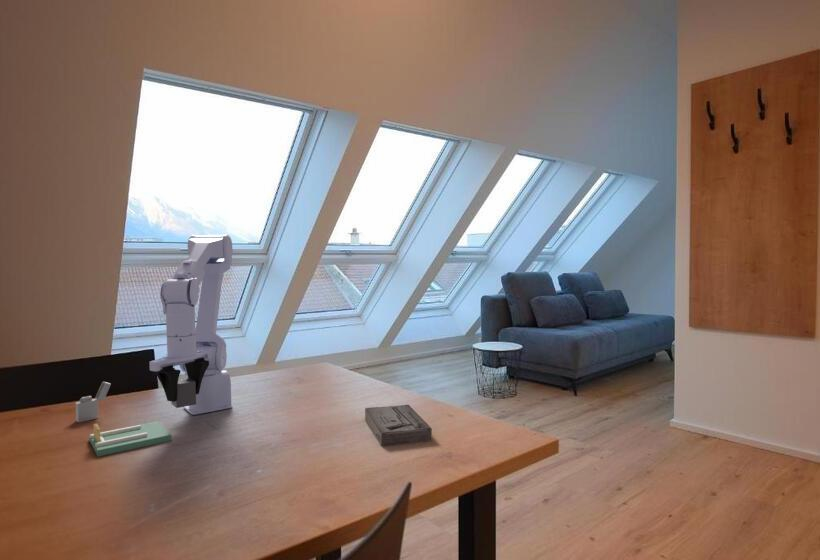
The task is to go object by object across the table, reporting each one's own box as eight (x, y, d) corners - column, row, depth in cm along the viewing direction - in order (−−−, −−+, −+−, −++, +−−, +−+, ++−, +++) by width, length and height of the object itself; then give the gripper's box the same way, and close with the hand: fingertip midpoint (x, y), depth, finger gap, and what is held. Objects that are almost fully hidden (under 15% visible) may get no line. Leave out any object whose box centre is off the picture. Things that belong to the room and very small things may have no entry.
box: (408, 416, 120) (408, 403, 120) (432, 442, 104) (432, 427, 104) (363, 421, 117) (363, 407, 117) (380, 448, 101) (380, 432, 101)
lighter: (78, 422, 117) (77, 387, 117) (75, 420, 118) (74, 386, 118) (112, 414, 123) (111, 381, 122) (109, 413, 124) (108, 380, 123)
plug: (190, 400, 115) (189, 377, 114) (196, 404, 112) (195, 381, 111) (171, 403, 112) (170, 380, 112) (176, 408, 109) (175, 384, 109)
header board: (158, 426, 114) (157, 407, 114) (171, 440, 105) (170, 420, 105) (89, 440, 106) (88, 420, 106) (97, 456, 97) (96, 434, 97)
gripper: (194, 328, 119) (196, 387, 120) (138, 339, 106) (140, 404, 107) (217, 330, 116) (219, 390, 117) (162, 341, 103) (164, 408, 104)
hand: (183, 397), depth 112 cm, fingers closed on plug, 5 cm apart
